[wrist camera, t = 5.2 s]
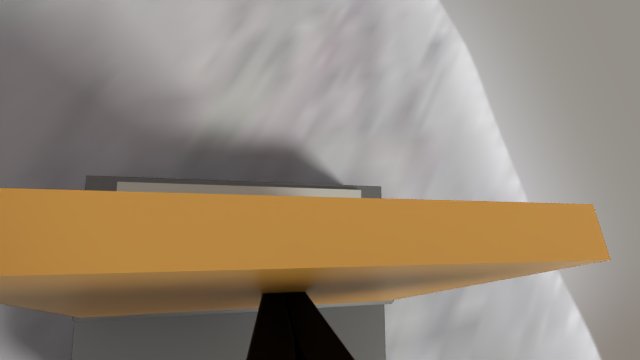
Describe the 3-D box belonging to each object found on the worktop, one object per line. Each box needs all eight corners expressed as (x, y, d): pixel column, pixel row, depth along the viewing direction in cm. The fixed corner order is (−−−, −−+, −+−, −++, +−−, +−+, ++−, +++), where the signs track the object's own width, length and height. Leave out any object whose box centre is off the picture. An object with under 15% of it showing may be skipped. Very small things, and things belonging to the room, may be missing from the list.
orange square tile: (383, 305, 15) (621, 265, 7) (80, 322, 12) (-172, 290, 4) (379, 273, 16) (599, 199, 7) (85, 283, 13) (-131, 175, 4)
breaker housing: (357, 366, 18) (388, 390, 15) (90, 393, 15) (63, 432, 12) (354, 194, 20) (383, 186, 17) (105, 186, 16) (84, 174, 13)
